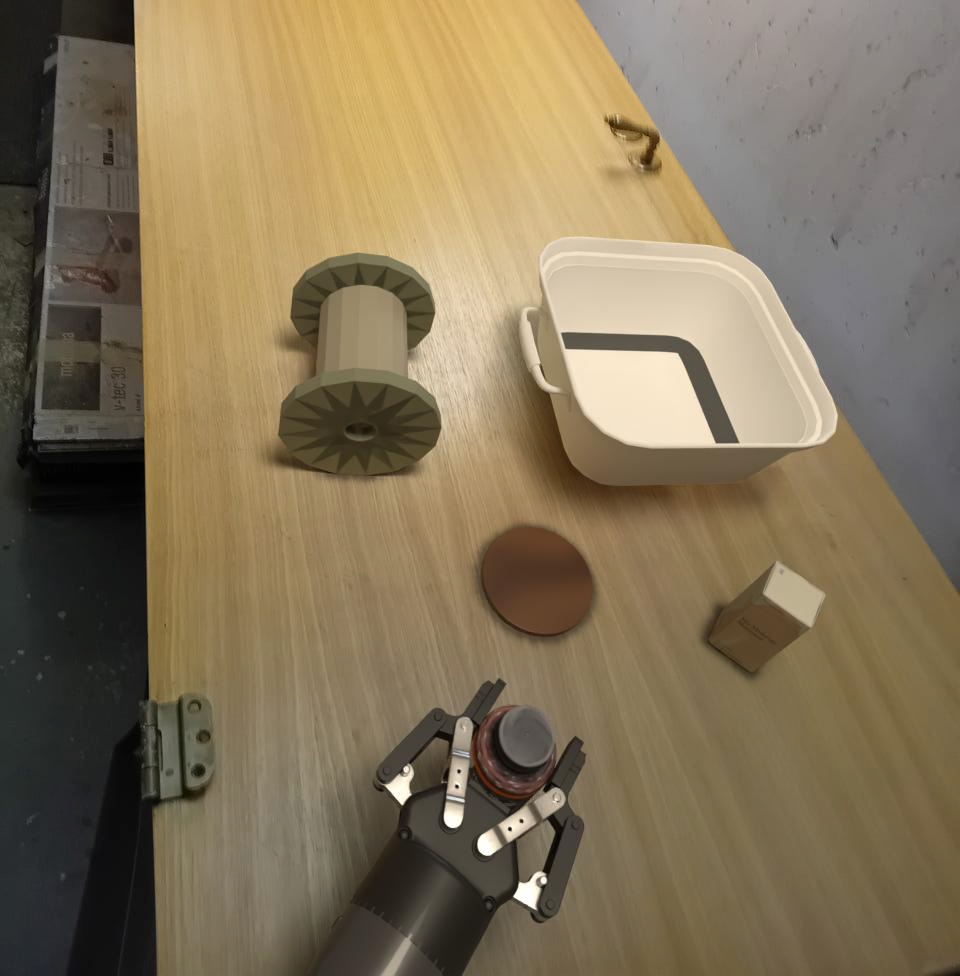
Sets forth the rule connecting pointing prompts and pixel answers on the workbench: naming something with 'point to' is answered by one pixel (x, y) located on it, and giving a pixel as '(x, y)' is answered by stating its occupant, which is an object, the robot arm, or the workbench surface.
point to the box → (767, 617)
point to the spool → (361, 367)
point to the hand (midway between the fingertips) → (537, 713)
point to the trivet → (537, 581)
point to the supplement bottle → (513, 754)
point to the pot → (670, 363)
